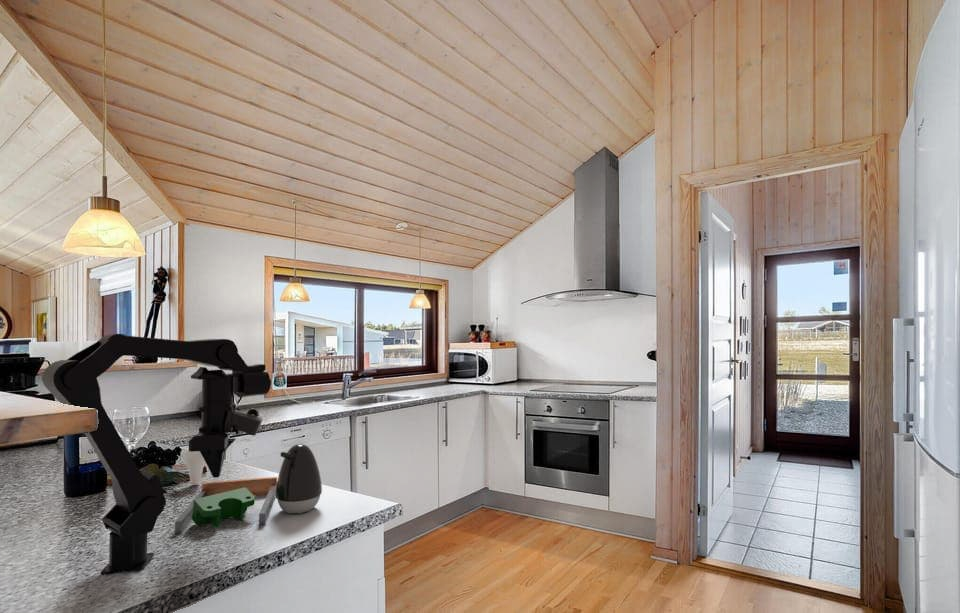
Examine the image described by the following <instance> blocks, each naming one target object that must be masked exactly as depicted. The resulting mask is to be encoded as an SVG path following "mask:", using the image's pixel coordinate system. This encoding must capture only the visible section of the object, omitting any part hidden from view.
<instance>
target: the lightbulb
mask: <svg viewBox="0 0 960 613" xmlns="http://www.w3.org/2000/svg"><path fill="white" fill-rule="evenodd" d="M182 459H183V463H184V464H185V466H186V468H187V470H188V475H189V480H190V481H189V483H190V484H191V485H193V486H197V485H198V484H200V483H201V482H202V475H203V470H204V466H205V464H206V462H205V460H204V458H203V456H202V455H201V453H200V451H194V452H190V451H189V446H188V447H187V448H186V449H185V450H184V452H183V455H182Z"/></svg>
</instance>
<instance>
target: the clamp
mask: <svg viewBox="0 0 960 613" xmlns="http://www.w3.org/2000/svg"><path fill="white" fill-rule="evenodd" d="M193 500H194V504H193V512H192V520H191V521H193V523H194V524H195V525H196V526H197V527H202V526H206V525H210V524H212V525H213V527H214V528H215V529H219V528H220V522H221V521H225V520H228V519H231V518H233V519H236V520H238V521H239V522H243V519H244V514H246V512H248V511H247V510H248V508H250V507H253V506H254V505H255V500H256V496H254V495H253V494H252V493H251V492H250V491H249V490H248V489H247V488H246V487H245V488H240V489H236V490H232V491H228V492H223V493H219V494H215V495H211V496H206V497H202V498H198V499H195V498H194V499H193Z"/></svg>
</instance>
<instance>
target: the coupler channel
mask: <svg viewBox="0 0 960 613" xmlns="http://www.w3.org/2000/svg"><path fill="white" fill-rule="evenodd" d="M277 481H278V476H273V477H271V476H270V477H258V478H257V477H256V478H245V479H230V480H219V481H205V482H202V484H201V491H200V492H199V493H197V495H196V496H195V497H194V499H198V498H202V497H206V496H211V495H215V494H219V493H223V492H228V491H232V490H236V489H240V488H245V487H246V488H247V489H248V490H249V491H250V492H251V493H252V494H253V495H254V496H255V497H257V496H265V495H266V496H265V499H264V502H263V504H262V506H261V509H260V511H259V513H258V526H259V527H261V526H266V524H267V521H268V519H269V518H268V517H269V515H270V513H271V510H272V508H273V505H274V502H275V499H276V487H277ZM194 499H193V500H192V501H191V503H189V504H188V506H187V507H186V508H185V510H184V511H183V512H182V513H181V514H180V515H179V517H178V518H176V520H175V521H174V535H178V534H179V535H180V534H183V532H184V531H185V530H186V529H187V526H189V524H190V522H192V521H193V520H192V512H193V504H194Z"/></svg>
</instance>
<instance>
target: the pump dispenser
mask: <svg viewBox="0 0 960 613" xmlns="http://www.w3.org/2000/svg"><path fill="white" fill-rule="evenodd" d="M280 457H281V458H283V461H282V463H281V466H280V470H279V473H278V476H277V487H276V497H275V499H276V500H277V503H278V505H279V507H280V509H281V510H282V511H283V512H285V513H287V514H288V513H289V514H292V513H293V514H294V513H299V514H304V513H307V512H309V511H311V510H312V509H314V508H315V507H316V506H317V504H318V503H319V500H320V497H321V495H322V493H323V487H322V479H321V474H320V469H319V465H318V462H317V459H316V457H315V455H314V452H313V451H312V449H311V448H310V447H309V446H308V445H306V444H303V443H299V444H295V445H293V446H291V447H290V448H289V449H288V451H287V452H286V451H282V452H280ZM303 512H304V513H303ZM293 514H292V515H293ZM294 515H295V514H294Z"/></svg>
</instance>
